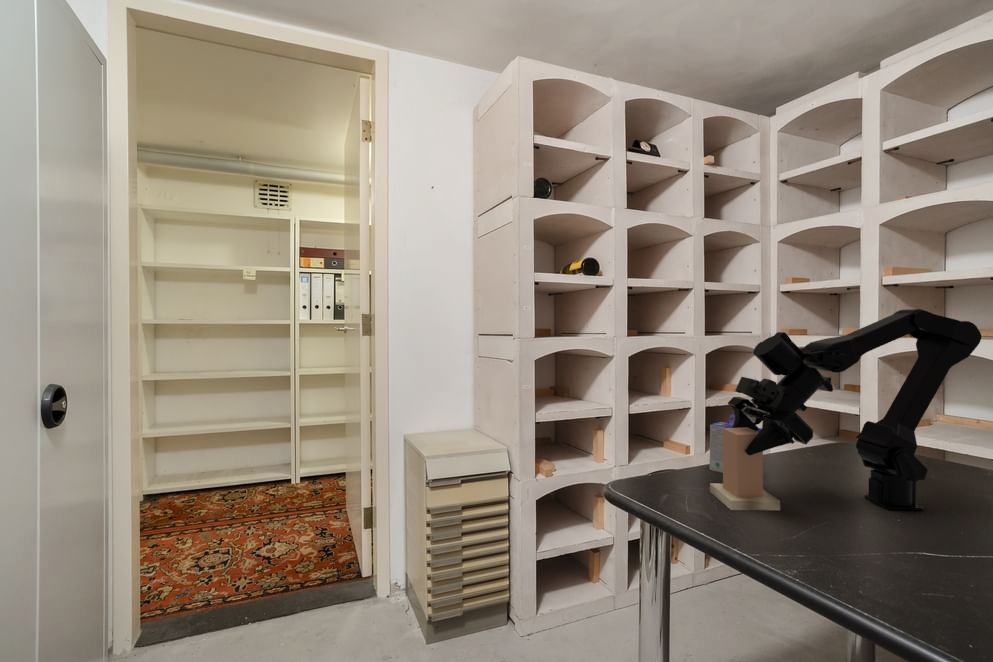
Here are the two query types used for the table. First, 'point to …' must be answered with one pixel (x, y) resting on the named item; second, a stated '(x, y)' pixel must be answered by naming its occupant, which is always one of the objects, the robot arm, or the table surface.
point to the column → (741, 463)
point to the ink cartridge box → (718, 443)
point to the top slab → (744, 500)
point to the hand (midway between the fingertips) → (737, 448)
